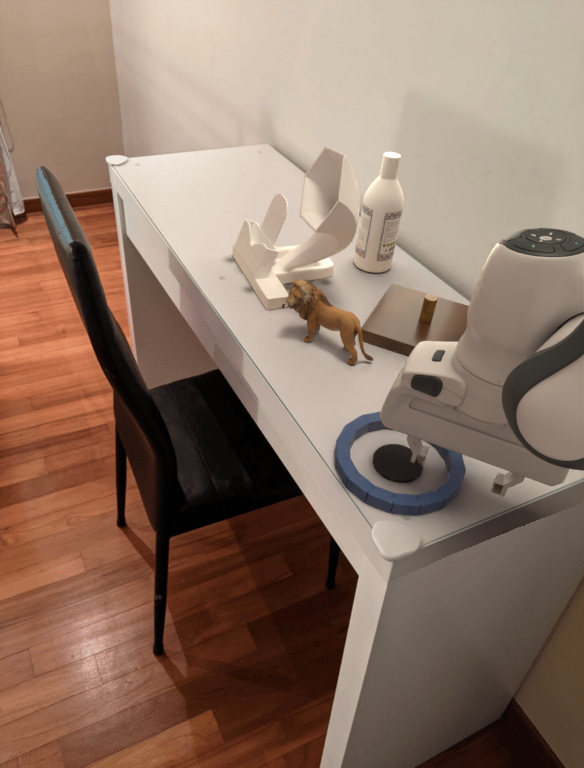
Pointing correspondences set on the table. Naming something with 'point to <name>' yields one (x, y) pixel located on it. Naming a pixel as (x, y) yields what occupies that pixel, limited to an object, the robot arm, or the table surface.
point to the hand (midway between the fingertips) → (457, 475)
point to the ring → (384, 497)
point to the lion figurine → (325, 316)
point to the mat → (396, 463)
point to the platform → (413, 320)
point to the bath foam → (380, 218)
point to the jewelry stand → (311, 258)
